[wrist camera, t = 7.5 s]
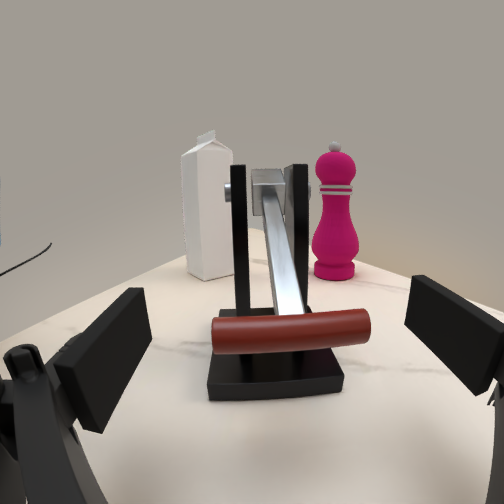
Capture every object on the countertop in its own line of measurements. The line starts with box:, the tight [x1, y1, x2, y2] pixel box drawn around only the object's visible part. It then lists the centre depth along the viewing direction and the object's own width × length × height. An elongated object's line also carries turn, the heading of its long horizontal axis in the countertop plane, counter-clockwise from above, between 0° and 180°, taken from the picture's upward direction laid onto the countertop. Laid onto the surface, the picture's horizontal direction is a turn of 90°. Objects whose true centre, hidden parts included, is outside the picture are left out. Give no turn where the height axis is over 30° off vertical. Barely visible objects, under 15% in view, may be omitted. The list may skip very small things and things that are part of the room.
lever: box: [211, 169, 371, 354], centre depth 16 cm, size 14×6×2 cm, turn 1°
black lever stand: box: [207, 164, 344, 400], centre depth 21 cm, size 12×9×15 cm
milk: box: [181, 130, 234, 281], centre depth 43 cm, size 6×6×22 cm
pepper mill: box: [312, 142, 359, 280], centre depth 41 cm, size 7×7×20 cm
